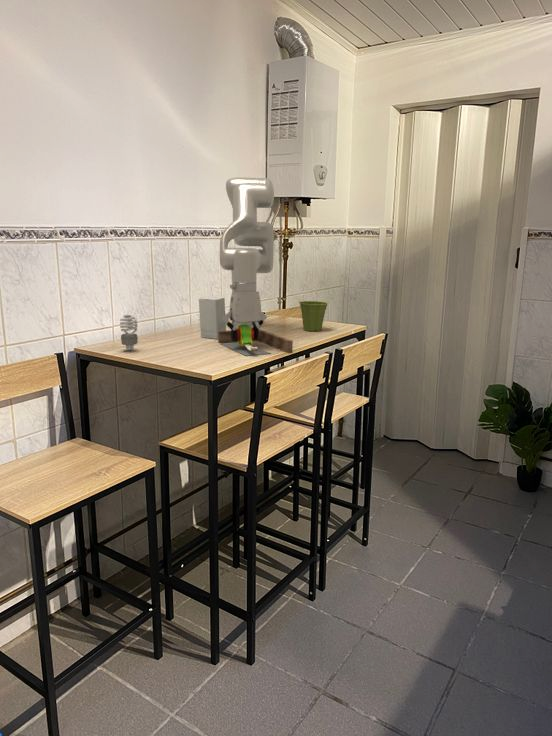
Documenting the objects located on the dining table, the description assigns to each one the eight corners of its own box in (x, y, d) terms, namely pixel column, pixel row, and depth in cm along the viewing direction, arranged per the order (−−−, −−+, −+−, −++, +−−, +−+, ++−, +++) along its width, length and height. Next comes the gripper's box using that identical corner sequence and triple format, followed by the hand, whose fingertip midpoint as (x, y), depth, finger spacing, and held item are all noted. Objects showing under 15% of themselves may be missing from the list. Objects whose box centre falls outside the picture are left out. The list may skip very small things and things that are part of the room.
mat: (220, 344, 203) (220, 343, 203) (243, 342, 207) (243, 341, 207) (245, 356, 185) (245, 355, 185) (270, 353, 189) (270, 353, 189)
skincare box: (226, 337, 216) (226, 297, 212) (216, 339, 211) (216, 299, 207) (209, 334, 220) (208, 295, 217) (198, 337, 215) (198, 297, 212)
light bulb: (117, 350, 189) (115, 314, 187) (132, 348, 194) (130, 312, 191) (127, 353, 186) (125, 316, 183) (142, 350, 190) (140, 314, 187)
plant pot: (326, 333, 228) (328, 304, 225) (297, 332, 229) (297, 303, 227) (327, 328, 239) (328, 301, 237) (299, 327, 241) (299, 300, 238)
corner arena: (218, 342, 206) (218, 331, 205) (258, 339, 213) (258, 328, 212) (249, 356, 184) (249, 344, 183) (292, 352, 191) (292, 340, 190)
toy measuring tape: (248, 340, 203) (248, 321, 201) (264, 351, 185) (264, 331, 183) (230, 340, 201) (230, 322, 199) (244, 352, 183) (244, 331, 181)
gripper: (225, 289, 184) (225, 344, 188) (273, 287, 192) (272, 340, 196) (216, 287, 190) (216, 340, 195) (263, 285, 198) (262, 336, 202)
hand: (244, 340), depth 195 cm, fingers closed on toy measuring tape, 6 cm apart
